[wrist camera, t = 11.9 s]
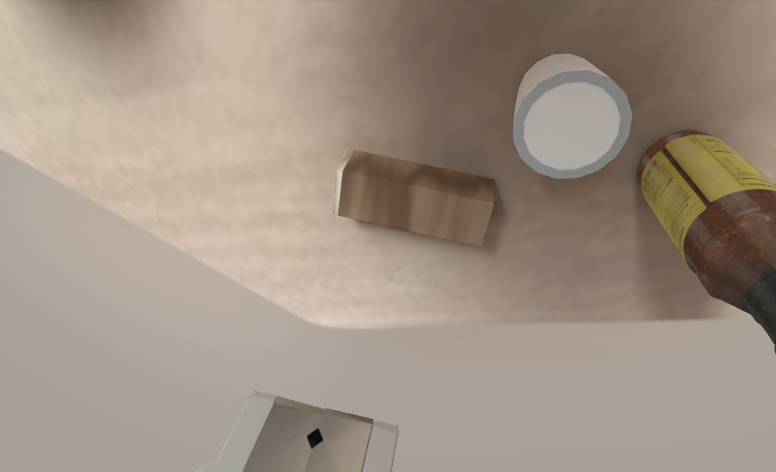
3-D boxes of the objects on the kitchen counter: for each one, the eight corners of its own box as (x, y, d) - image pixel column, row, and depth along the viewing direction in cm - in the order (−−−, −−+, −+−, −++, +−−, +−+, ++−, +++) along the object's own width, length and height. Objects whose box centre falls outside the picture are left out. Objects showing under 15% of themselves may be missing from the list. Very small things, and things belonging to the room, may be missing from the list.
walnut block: (332, 214, 40) (481, 247, 39) (337, 169, 38) (494, 203, 37) (344, 191, 43) (481, 221, 42) (349, 148, 41) (494, 179, 40)
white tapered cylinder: (627, 103, 35) (654, 140, 30) (540, 155, 38) (549, 198, 33) (578, 21, 33) (596, 44, 27) (490, 84, 36) (489, 116, 30)
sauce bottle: (665, 217, 39) (789, 435, 23) (617, 163, 38) (714, 357, 21) (750, 165, 36) (966, 375, 20) (701, 104, 35) (893, 278, 18)
